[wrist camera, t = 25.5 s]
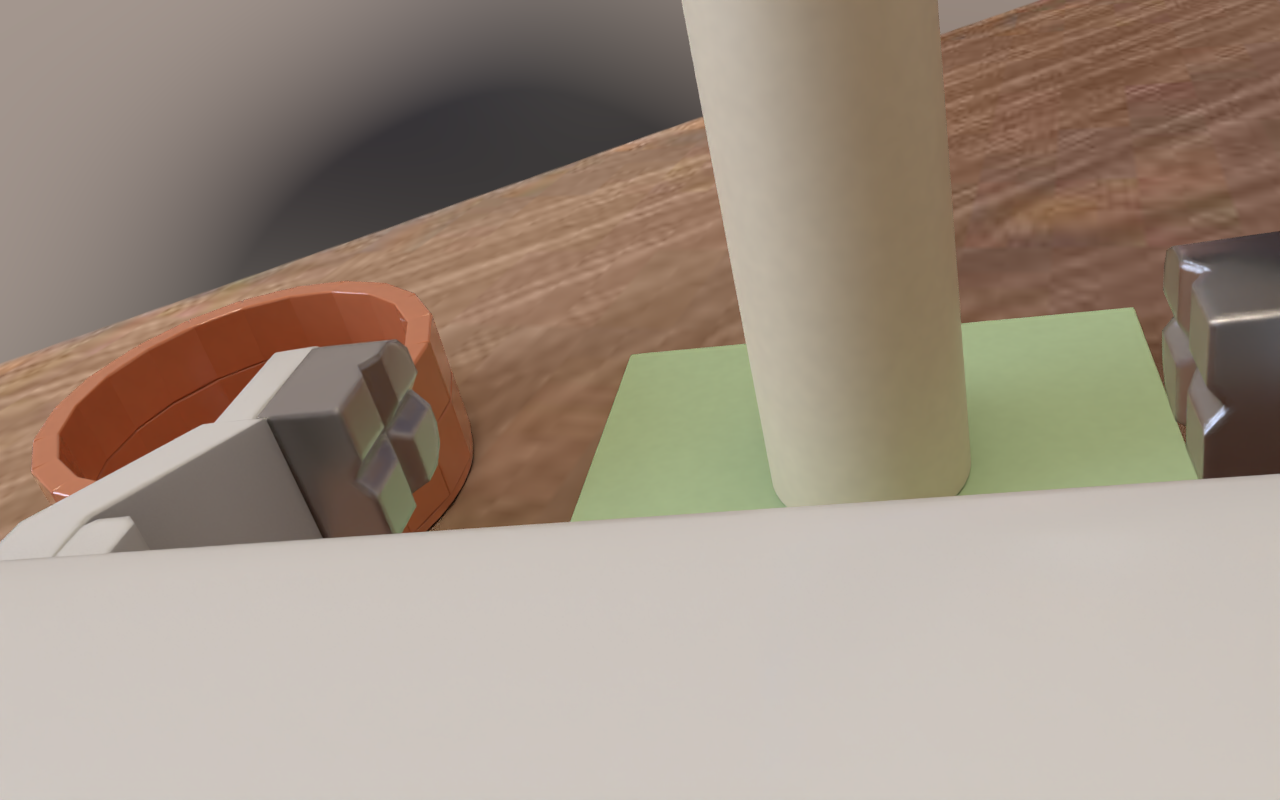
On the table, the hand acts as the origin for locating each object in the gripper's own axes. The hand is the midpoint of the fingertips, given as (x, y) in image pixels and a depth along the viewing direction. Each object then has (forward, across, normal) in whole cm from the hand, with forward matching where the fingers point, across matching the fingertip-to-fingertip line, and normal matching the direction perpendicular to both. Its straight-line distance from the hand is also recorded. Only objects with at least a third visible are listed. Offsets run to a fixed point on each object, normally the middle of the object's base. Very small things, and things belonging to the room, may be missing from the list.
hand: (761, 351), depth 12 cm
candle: (+11, 0, +10) cm, 15 cm away
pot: (+12, +16, +10) cm, 23 cm away
